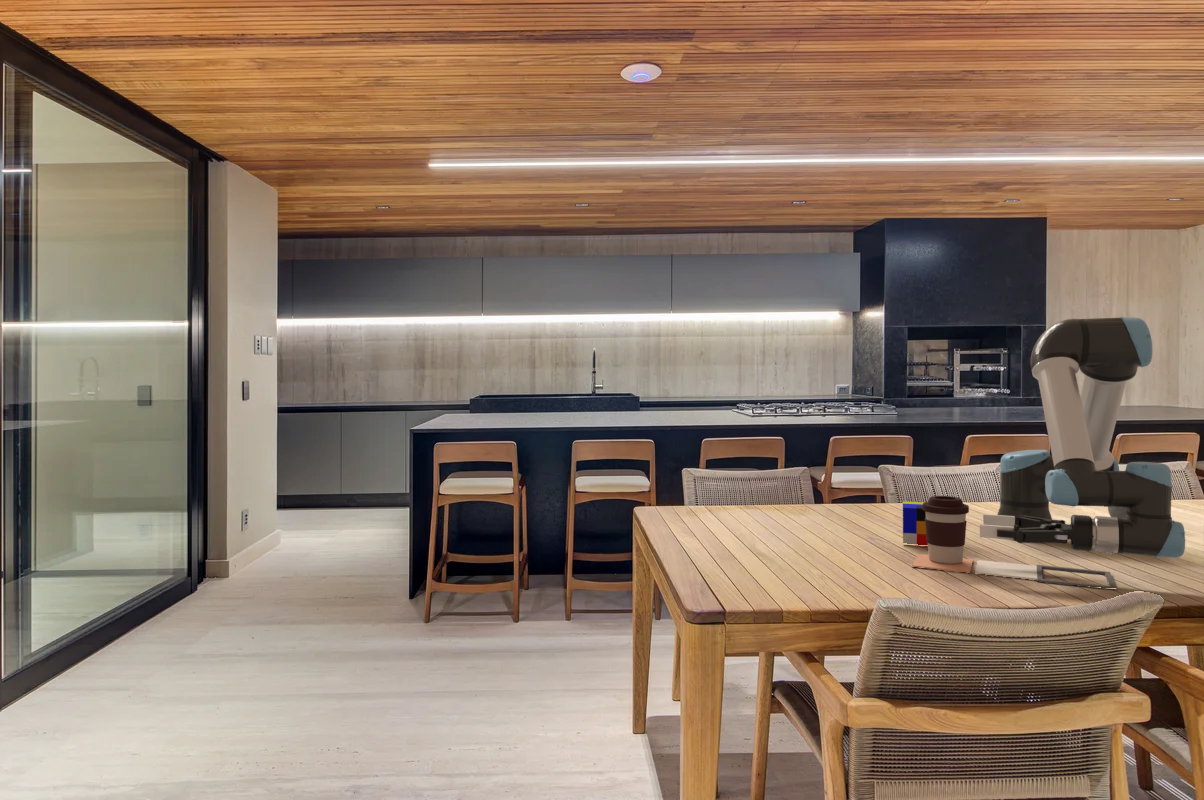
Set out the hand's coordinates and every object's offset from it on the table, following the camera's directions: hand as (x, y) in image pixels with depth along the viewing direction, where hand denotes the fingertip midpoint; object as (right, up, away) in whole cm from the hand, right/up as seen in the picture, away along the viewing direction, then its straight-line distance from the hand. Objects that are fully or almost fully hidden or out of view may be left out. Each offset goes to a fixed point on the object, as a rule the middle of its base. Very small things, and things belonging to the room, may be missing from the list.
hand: (981, 525), depth 169 cm
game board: (+4, -10, -2) cm, 11 cm away
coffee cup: (-6, -10, +6) cm, 13 cm away
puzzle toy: (-1, -9, +27) cm, 29 cm away
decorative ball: (+65, -8, +43) cm, 78 cm away
